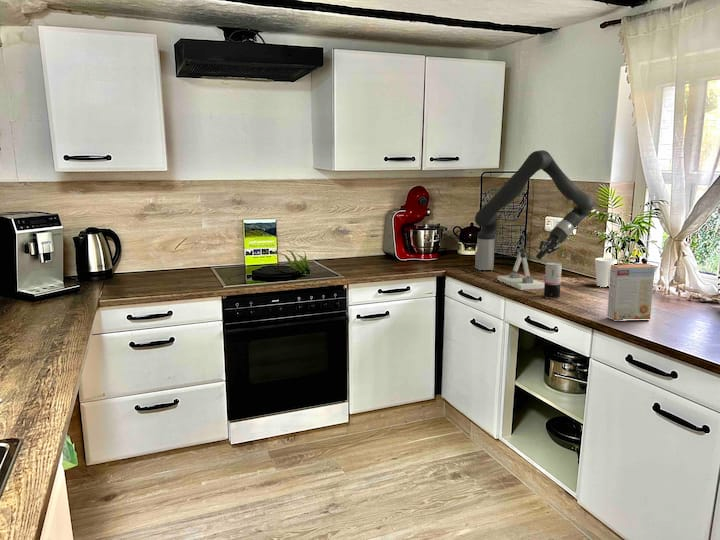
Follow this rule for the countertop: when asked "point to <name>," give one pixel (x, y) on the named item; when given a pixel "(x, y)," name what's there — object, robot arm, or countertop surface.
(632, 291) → the cracker box
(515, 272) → the lever
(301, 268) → the decorative plant
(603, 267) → the foam cup
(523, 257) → the lever
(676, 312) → the countertop surface
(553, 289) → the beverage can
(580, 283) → the countertop surface
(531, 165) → the robot arm
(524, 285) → the switch base
